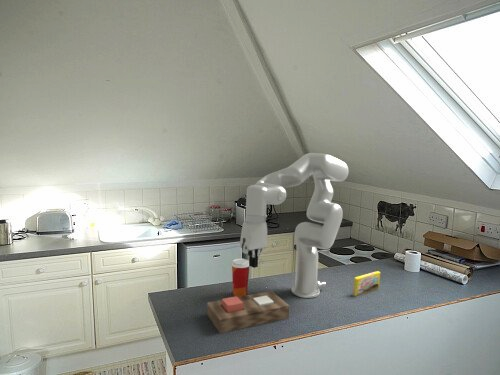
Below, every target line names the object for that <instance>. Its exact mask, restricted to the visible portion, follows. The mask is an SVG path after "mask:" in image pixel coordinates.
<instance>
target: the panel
mask: <svg viewBox="0 0 500 375" xmlns="http://www.w3.org/2000/svg"><path fill="white" fill-rule="evenodd" d="M261 296H268V297H269V298H270V299H271V300H272V301H273V302H274V304H270V305H265V306H260V307H259V306H258V305H257V304H256V303H255V302H254V301H253V298H256V297H261ZM238 298H239V299H240V300H241V301H242V302H243V310H240V311H235V312H230V313H227V312H226V311H225V310H224V308H223V307H222V299H220V300H215V301H209V302H207V305H206V309H207V310H206V315H207V317H208V318H209V320H210V321H211V322H212V325H214V327H215V329H216V330H217V331H218V332H219V334H223V333H228V332H231V331H235V330H242V329H246V328H249V327H254V326H259V325H262V324H266V323H272V322H276V321H281V320H286V319H289V318H290V305H289V304H288V303H287V302H286V301H284V300H283V299H282V298H281V297H280V296H278V294H276V293H275V292H274V291H273V290H269V291H264V292H259V293H258V292H257V293H254V294H247V295H246V296H241V297H238Z"/></svg>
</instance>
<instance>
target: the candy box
mask: <svg viewBox="0 0 500 375" xmlns="http://www.w3.org/2000/svg"><path fill="white" fill-rule="evenodd" d="M381 274H382V273H381V272H380V271H379V270H377V271H373V272H369V273H366V274H362V275H358V276H355V277H354V278H353V279H354V280H353V287H352V289H353V290H352V296H354V297H358V296H360V295H363V294H367V293H370V292H372V291H376V290H378V289H380V280H381Z"/></svg>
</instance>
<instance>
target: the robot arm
mask: <svg viewBox="0 0 500 375" xmlns="http://www.w3.org/2000/svg"><path fill="white" fill-rule="evenodd" d="M311 176H312V178H313V181H314V191H313V194H312V196H311V199H310V201H309V204H308V206H307V210H306V218H308V220H311V221H313V222H317V224H316V223H313V222H309V221H304V222H303V221H302V222H300V223H299V224H297V225H296V227H295V230H294V238H295V243H296V244H295V246H296V258H295V277H294V281H295V282H294V283H295V284H294V285H293V286H292V287H291V293H292V294H293V295H295V296H296V297H300V298H305V299H313V298H316V297H319V295H321V294H320V293H321V290H320V288H321V287H325V286H327V285H326V281H322V282H321V281H320V280H318V267H319V251H318V249H320V250H329V249H331V247H332V246H333V245H334V244H335V240H336V237H337V235H338V232H339V230H340V226H341V225H342V224H341V223H342V221H343V214H344V212H343V208H342V207H341V205H340V204H338V203H336V202H332V200H333V197H334V188H333V186H332V183H331V181H332V182H344V181H345V180H346V179H347V178H348V176H349V167H348V165H347V163H346V162H345V161H342V160H341V159H339V158H337V157H334V156H332V155H330V154H328V153H327V154H326V153H319V152H318V153H315V152H309V153H306V154H304V155H303V156H301V157H300V158H299V159H297V160H296V161H295V162H293V163H292V164H291V165H289V166H288V167H285V168H282V169H279V170H277V171H273V172H271V173H269V174H266V175H264V176H263V177H262V178H261V179H258V181H256V183H255V184H251V185H249V186H247V187H246V200H245V201H246V202H245V221H244V222H243V223H242V227H241V233H240V241H239V242H240V243H239V246H240V248H241V249H242V250H241V252H242V254H245V255H247V256H248V258H249V259H248V261H249V267H251V268H254V269H255V268H258V266H259V265H258V264H259V257H260V255H261V253H262V251H264V250H265V249H266V248H267V246H268V225H267V222H266V220H267V217H268V215H267V205H274V206H276V205H277V206H278V205H280V204H282V203H284V202H285V200H286V199H287V191H286V189H285V188H292V187H296V186H300V185H301V184H303V183H304V182H305V181H306V180H307V179H309V178H311ZM318 223H320V224H318ZM321 224H323V225H321Z"/></svg>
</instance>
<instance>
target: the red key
mask: <svg viewBox="0 0 500 375" xmlns="http://www.w3.org/2000/svg"><path fill="white" fill-rule="evenodd" d="M221 300H222V307H223V308H224V310H225V311H226V312H227V313H230V312H235V311H240V310H243V302H242V301H241V300H240V299H239V298H238V297H237V296H231V297H227V298H226V297H225V298H222V299H221Z"/></svg>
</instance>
